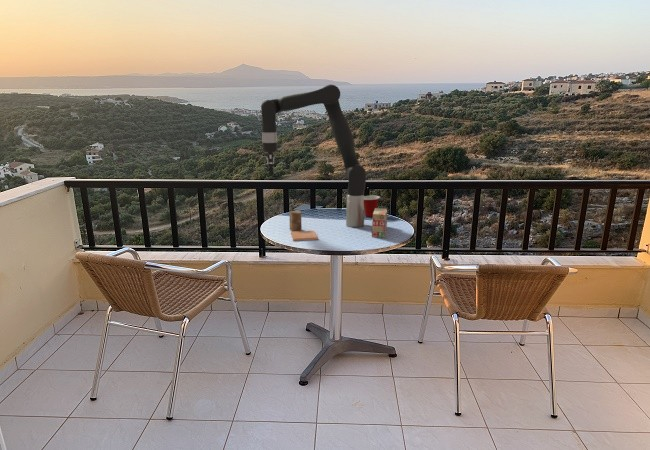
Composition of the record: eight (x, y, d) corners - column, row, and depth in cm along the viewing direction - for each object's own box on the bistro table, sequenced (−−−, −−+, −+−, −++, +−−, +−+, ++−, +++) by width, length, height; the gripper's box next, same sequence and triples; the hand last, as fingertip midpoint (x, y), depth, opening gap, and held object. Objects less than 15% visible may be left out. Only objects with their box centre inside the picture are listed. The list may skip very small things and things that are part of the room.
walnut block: (298, 228, 213) (298, 210, 210) (301, 231, 208) (301, 212, 206) (289, 229, 211) (289, 211, 209) (292, 232, 207) (291, 213, 204)
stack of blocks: (375, 226, 219) (376, 204, 216) (386, 226, 218) (387, 204, 215) (371, 237, 199) (372, 213, 196) (384, 238, 198) (385, 214, 195)
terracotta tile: (314, 232, 206) (314, 230, 205) (317, 239, 194) (317, 237, 194) (290, 233, 204) (290, 231, 203) (293, 240, 192) (293, 238, 192)
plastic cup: (360, 214, 245) (361, 194, 242) (378, 214, 245) (379, 195, 241) (361, 218, 234) (361, 198, 231) (379, 218, 234) (380, 198, 231)
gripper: (277, 142, 194) (279, 175, 198) (276, 140, 208) (277, 172, 212) (262, 142, 193) (263, 176, 197) (262, 141, 207) (263, 172, 211)
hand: (271, 174), depth 205 cm, fingers open, 8 cm apart
